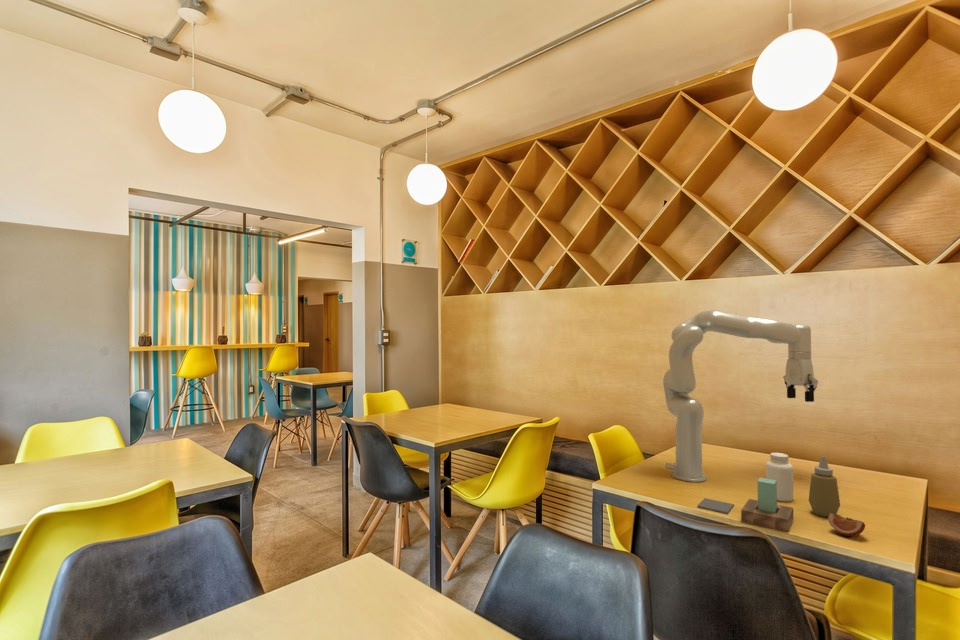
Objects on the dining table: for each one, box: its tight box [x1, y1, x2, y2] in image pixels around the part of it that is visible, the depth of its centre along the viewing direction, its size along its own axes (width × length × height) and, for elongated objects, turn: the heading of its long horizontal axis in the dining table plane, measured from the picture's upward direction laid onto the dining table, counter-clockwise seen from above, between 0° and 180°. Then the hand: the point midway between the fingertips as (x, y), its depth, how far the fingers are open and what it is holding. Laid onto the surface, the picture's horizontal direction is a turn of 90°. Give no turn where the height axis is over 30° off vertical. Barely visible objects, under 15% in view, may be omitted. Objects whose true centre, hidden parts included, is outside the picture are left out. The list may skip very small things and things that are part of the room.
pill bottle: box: [765, 452, 794, 502], centre depth 164 cm, size 8×8×15 cm
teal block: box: [757, 477, 778, 514], centre depth 144 cm, size 4×4×12 cm
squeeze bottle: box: [808, 455, 841, 518], centre depth 149 cm, size 8×8×18 cm
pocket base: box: [740, 498, 794, 533], centre depth 144 cm, size 12×12×4 cm
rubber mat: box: [696, 497, 735, 515], centre depth 155 cm, size 9×9×1 cm
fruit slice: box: [827, 513, 866, 537], centre depth 135 cm, size 8×7×5 cm
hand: (800, 399), depth 186 cm, fingers open, 9 cm apart
